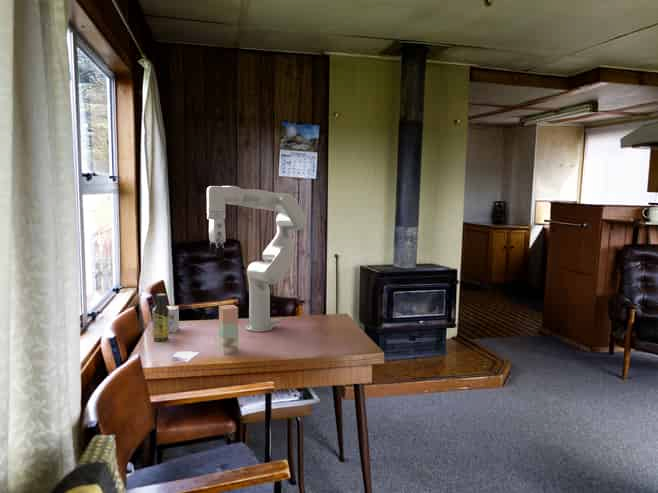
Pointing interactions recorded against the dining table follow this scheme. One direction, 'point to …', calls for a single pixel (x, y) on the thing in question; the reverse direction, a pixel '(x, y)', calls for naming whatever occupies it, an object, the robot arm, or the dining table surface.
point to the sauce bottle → (161, 319)
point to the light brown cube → (228, 314)
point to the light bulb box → (170, 318)
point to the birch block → (228, 345)
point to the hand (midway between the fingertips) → (216, 255)
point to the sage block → (228, 330)
